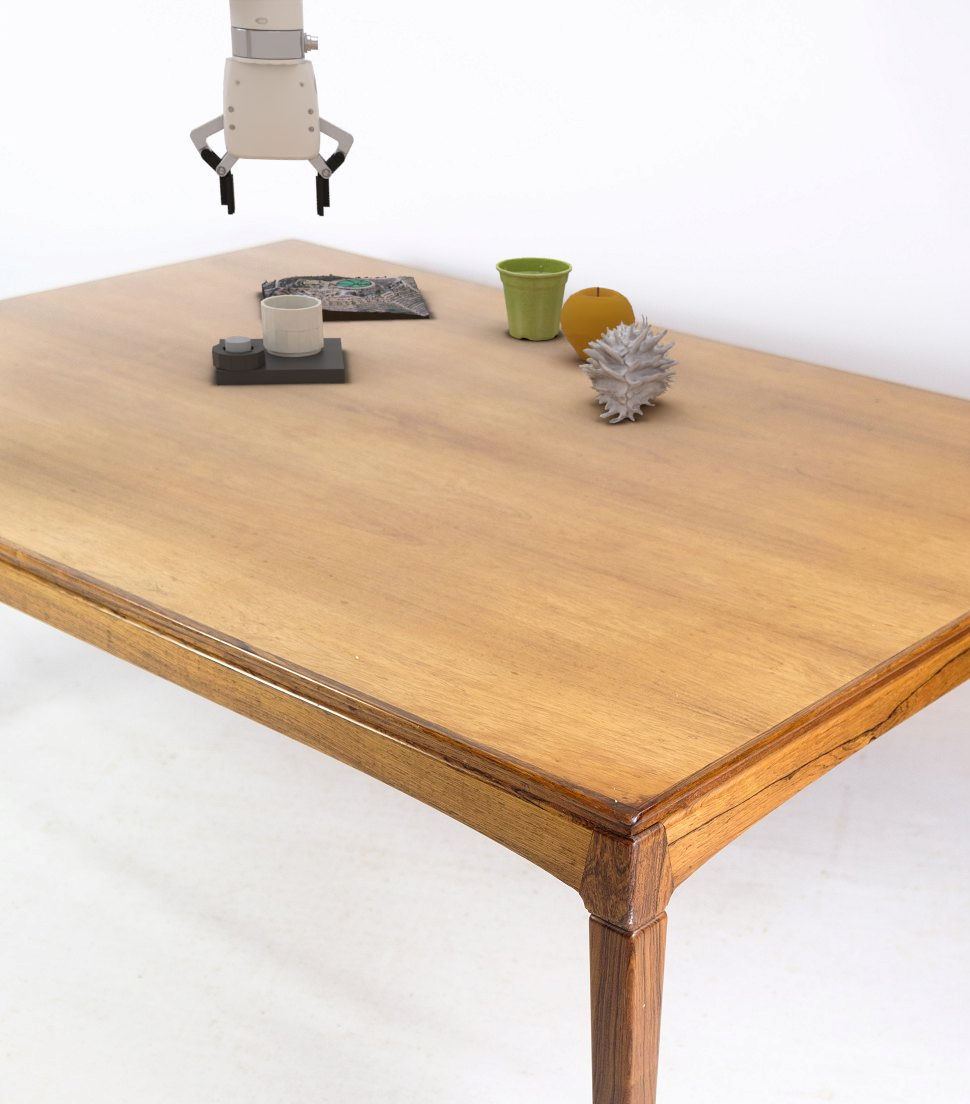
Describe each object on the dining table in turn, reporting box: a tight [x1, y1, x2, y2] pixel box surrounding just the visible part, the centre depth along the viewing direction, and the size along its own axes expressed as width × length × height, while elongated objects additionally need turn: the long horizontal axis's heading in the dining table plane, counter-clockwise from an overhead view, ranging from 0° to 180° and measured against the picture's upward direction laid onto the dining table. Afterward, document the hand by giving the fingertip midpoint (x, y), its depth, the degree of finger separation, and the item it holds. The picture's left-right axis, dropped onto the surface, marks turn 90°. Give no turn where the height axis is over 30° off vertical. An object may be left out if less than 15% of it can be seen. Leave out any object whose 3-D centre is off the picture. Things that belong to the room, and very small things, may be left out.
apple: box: [560, 286, 636, 364], centre depth 193 cm, size 9×9×9 cm
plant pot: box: [495, 256, 573, 342], centre depth 202 cm, size 9×9×9 cm
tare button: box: [224, 335, 252, 352], centre depth 181 cm, size 3×3×1 cm
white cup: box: [260, 295, 324, 357], centre depth 187 cm, size 7×7×6 cm
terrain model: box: [261, 273, 430, 322], centre depth 212 cm, size 20×15×3 cm
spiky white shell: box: [578, 314, 681, 424], centre depth 177 cm, size 12×11×12 cm
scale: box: [211, 337, 346, 386], centre depth 186 cm, size 14×13×4 cm
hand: (276, 213), depth 180 cm, fingers open, 9 cm apart
